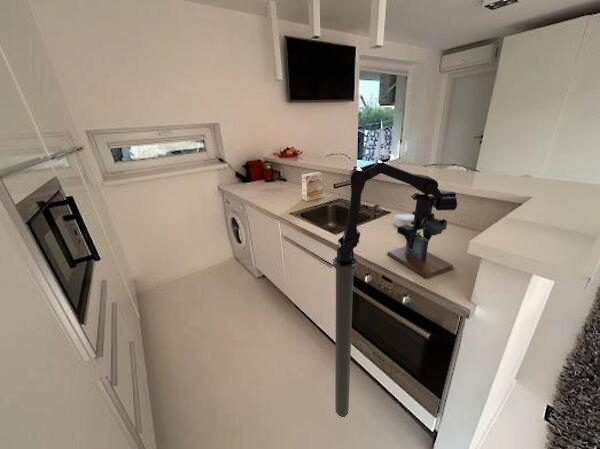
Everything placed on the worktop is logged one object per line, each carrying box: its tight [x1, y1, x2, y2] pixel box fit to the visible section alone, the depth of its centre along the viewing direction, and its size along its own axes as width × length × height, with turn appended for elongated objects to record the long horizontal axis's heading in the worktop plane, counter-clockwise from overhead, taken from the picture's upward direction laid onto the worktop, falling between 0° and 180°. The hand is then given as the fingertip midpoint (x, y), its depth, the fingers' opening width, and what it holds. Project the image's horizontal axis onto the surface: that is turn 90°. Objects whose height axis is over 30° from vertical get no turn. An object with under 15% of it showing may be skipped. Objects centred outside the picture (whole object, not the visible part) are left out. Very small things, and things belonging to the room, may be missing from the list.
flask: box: [404, 231, 429, 261], centre depth 99 cm, size 9×3×11 cm, turn 31°
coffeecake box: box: [301, 171, 324, 202], centre depth 189 cm, size 15×7×20 cm, turn 120°
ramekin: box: [393, 212, 415, 228], centre depth 134 cm, size 11×11×5 cm
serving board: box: [387, 245, 454, 279], centre depth 100 cm, size 14×20×2 cm
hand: (418, 246), depth 99 cm, fingers open, 7 cm apart
